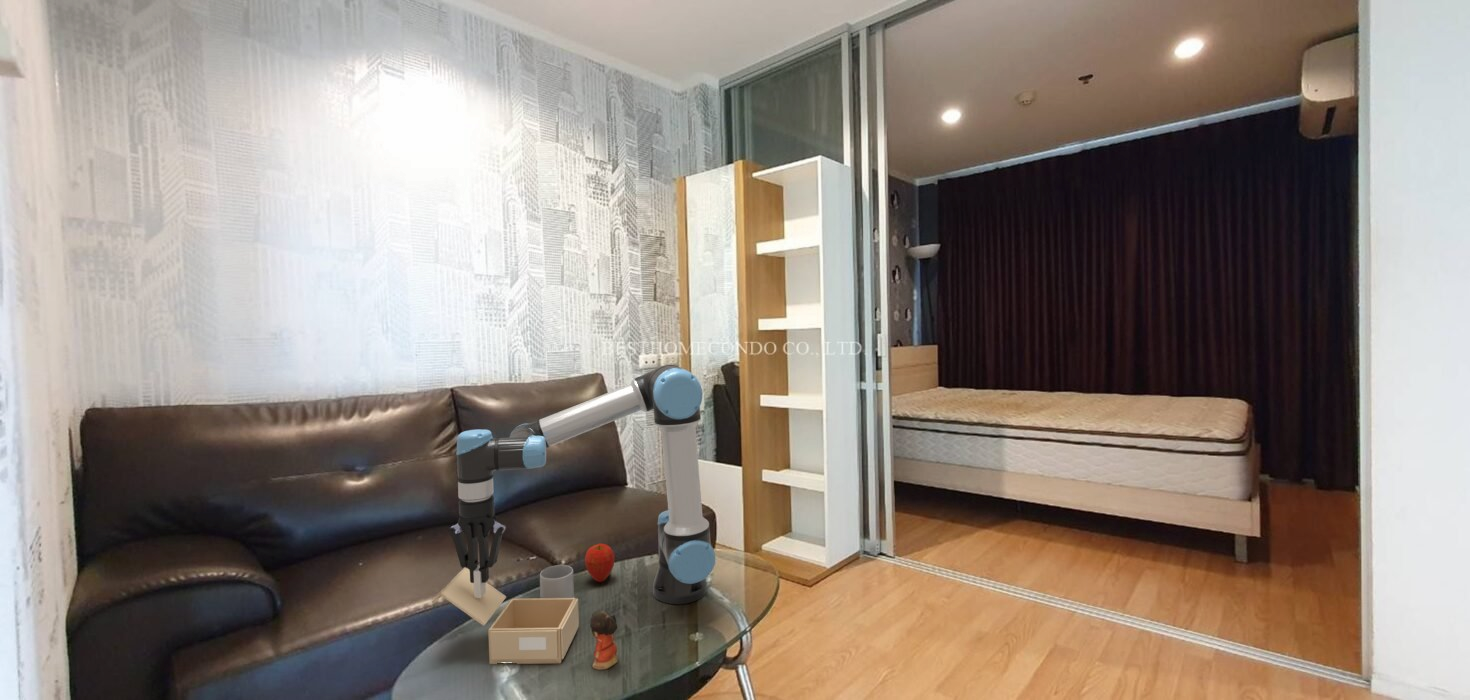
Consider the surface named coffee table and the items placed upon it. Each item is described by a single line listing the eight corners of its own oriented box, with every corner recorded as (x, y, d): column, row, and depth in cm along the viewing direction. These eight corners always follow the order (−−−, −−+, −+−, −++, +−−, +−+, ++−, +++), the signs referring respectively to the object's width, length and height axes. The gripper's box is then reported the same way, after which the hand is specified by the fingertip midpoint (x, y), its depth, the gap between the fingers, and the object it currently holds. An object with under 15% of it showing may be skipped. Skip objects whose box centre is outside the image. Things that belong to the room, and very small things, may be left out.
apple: (587, 574, 175) (586, 539, 174) (616, 573, 176) (615, 538, 175) (583, 588, 166) (582, 551, 166) (613, 586, 167) (612, 550, 167)
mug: (577, 616, 151) (576, 575, 151) (542, 623, 148) (541, 581, 147) (569, 595, 162) (568, 557, 162) (537, 602, 159) (536, 563, 158)
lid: (465, 566, 143) (457, 576, 143) (439, 591, 131) (431, 602, 131) (506, 596, 144) (499, 606, 144) (485, 624, 131) (477, 634, 131)
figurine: (621, 655, 134) (620, 604, 133) (617, 670, 129) (616, 617, 128) (593, 655, 134) (592, 605, 133) (588, 670, 128) (587, 618, 128)
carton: (579, 628, 146) (578, 597, 145) (562, 664, 131) (561, 630, 130) (513, 628, 146) (512, 597, 145) (488, 665, 130) (487, 631, 130)
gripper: (510, 491, 139) (513, 587, 141) (455, 492, 139) (459, 588, 141) (498, 502, 132) (501, 603, 133) (440, 502, 132) (444, 603, 133)
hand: (480, 595), depth 137 cm, fingers closed
